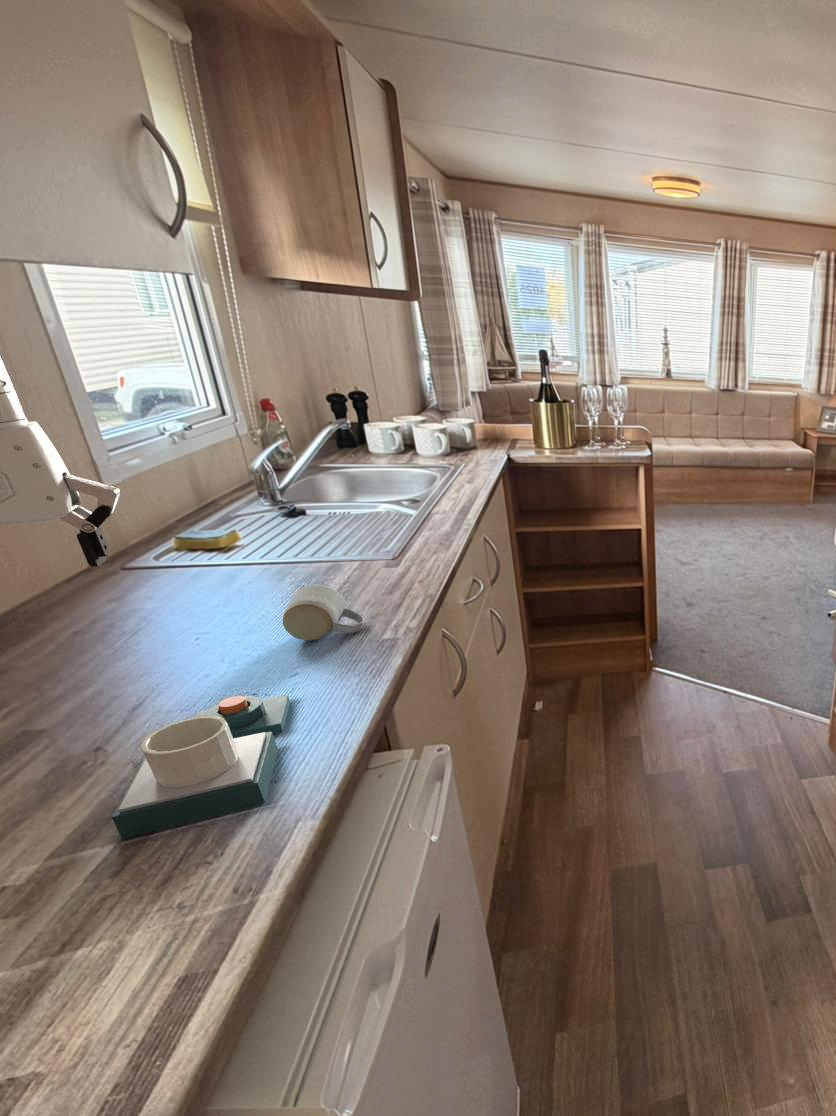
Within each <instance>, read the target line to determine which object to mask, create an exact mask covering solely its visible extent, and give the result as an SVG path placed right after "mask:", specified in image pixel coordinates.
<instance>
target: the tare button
mask: <svg viewBox="0 0 836 1116" xmlns="http://www.w3.org/2000/svg"><path fill="white" fill-rule="evenodd" d="M244 696H245V695H244ZM244 696H243V695H234V696H230V697H229V696H228V697H227V698H224V699H222V700H221V701H219V702H218V703H219V704H218V703H217V704H218V707H219V709H220V712H221V714H222V715H229V714H234V713H238V712H240V711H243V710H245V709H246V708H248V704H247V701H246V698H245V697H244Z"/></svg>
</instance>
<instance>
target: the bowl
mask: <svg viewBox="0 0 836 1116" xmlns="http://www.w3.org/2000/svg"><path fill="white" fill-rule="evenodd" d="M140 749H141V751H142V753H143V756H144V758H146V760H147V762H148V765H149V767H150V769H151V771H152V774H153V776H154V778H155V779H156V782H157V783H158V784H159V785H161V786H163V787H170V788H176V787H185V786H190V785H194V784H198V783H201V782H204V781H207V780H209V779H212V778H214V777H216V776H218V775H220V774H222V773H223V772H225V771H227V770H228V769H229V768H231V767H232V766H233V765H234V764H235V763H236V761H237V759H238V750H237V748H236V745H235V742H234V740H233V737H232V734H231V732H230V729H229V726H228V724H227V722H226V721H225V720H224V718H220V717H216V716H203V717H196V718H194V717H192V718H186V719H183V720H182V719H181V720H180V721H176V722H173V723H170V724H167V725H165V726H164V727H161V728H159V729H157V730H155V731H154V732H153V731H152V733H151V734H149V735H148V736H147V737H145V738H144V739H143V741H142V743H141V745H140Z"/></svg>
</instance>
